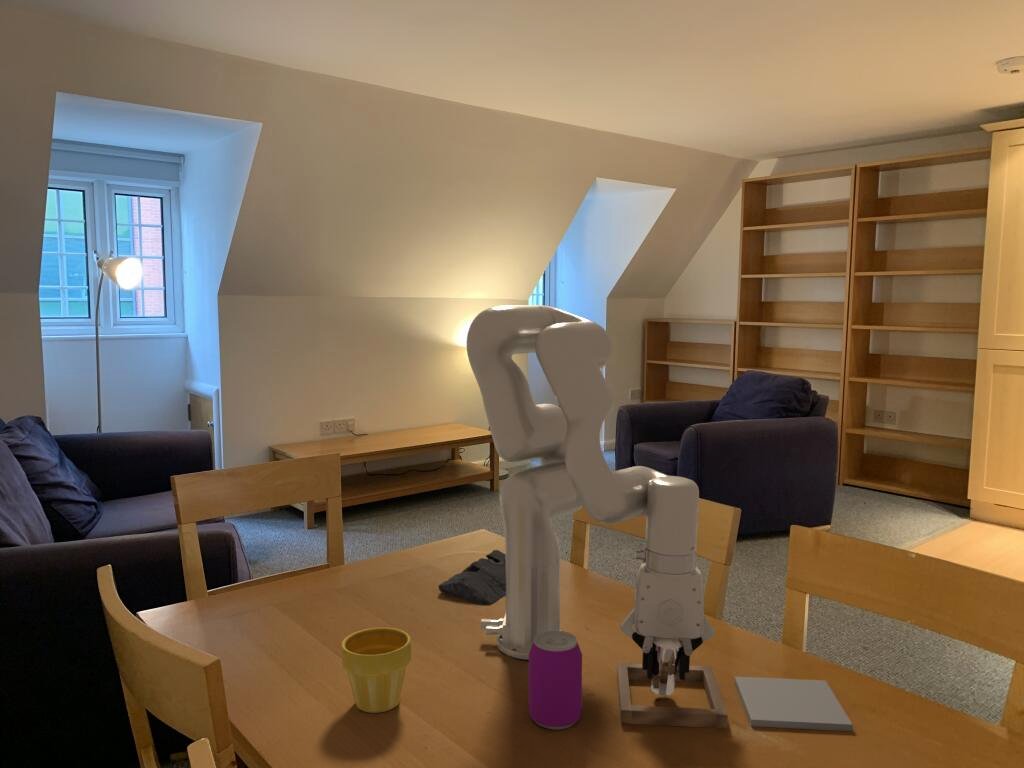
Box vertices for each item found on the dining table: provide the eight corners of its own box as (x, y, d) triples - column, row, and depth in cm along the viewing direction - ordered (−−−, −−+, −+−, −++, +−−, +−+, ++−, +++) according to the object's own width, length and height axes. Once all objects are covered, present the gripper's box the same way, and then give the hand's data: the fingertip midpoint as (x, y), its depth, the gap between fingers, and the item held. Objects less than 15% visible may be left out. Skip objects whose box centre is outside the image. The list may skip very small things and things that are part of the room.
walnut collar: (620, 723, 114) (621, 709, 114) (617, 674, 129) (617, 662, 129) (727, 728, 113) (727, 715, 112) (711, 678, 127) (711, 666, 127)
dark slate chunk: (426, 596, 164) (425, 574, 163) (479, 564, 183) (479, 544, 183) (490, 610, 157) (490, 587, 156) (539, 575, 176) (539, 555, 175)
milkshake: (682, 701, 118) (689, 638, 117) (646, 695, 119) (653, 632, 118) (682, 687, 123) (689, 625, 122) (647, 681, 124) (653, 620, 123)
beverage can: (527, 731, 112) (528, 650, 110) (529, 704, 119) (529, 627, 118) (582, 733, 111) (583, 651, 110) (580, 705, 119) (581, 628, 118)
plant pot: (348, 686, 125) (346, 626, 124) (414, 684, 125) (413, 625, 124) (337, 721, 115) (335, 656, 113) (409, 719, 115) (408, 654, 114)
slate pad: (750, 726, 113) (751, 719, 113) (734, 682, 126) (734, 676, 126) (852, 731, 112) (852, 724, 112) (825, 686, 125) (825, 680, 125)
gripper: (614, 565, 116) (610, 683, 118) (731, 571, 114) (725, 691, 116) (612, 548, 123) (609, 660, 125) (723, 554, 121) (717, 667, 124)
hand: (665, 674), depth 121 cm, fingers closed on milkshake, 4 cm apart
